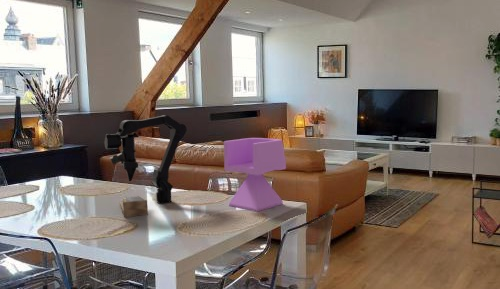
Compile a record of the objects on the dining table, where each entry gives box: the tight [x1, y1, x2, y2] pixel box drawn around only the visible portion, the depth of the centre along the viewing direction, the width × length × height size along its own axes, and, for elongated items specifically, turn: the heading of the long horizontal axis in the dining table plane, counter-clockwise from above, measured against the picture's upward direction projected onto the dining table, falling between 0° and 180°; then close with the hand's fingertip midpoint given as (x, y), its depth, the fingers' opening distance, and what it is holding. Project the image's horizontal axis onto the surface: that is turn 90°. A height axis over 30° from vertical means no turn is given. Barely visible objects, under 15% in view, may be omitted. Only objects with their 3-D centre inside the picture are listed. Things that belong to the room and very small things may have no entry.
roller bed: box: [119, 197, 126, 216], centre depth 225 cm, size 10×22×4 cm, turn 19°
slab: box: [125, 195, 145, 202], centre depth 222 cm, size 6×12×2 cm, turn 28°
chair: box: [223, 137, 287, 213], centre depth 227 cm, size 20×20×30 cm
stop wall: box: [122, 199, 149, 218], centre depth 215 cm, size 10×2×6 cm, turn 109°
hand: (130, 181), depth 230 cm, fingers closed
